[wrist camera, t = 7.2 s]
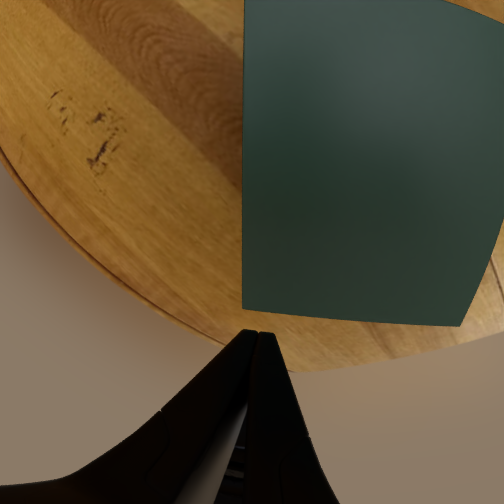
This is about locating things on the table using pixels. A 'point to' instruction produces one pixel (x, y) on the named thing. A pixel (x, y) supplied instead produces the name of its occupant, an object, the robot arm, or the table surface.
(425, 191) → the lid
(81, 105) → the table surface
